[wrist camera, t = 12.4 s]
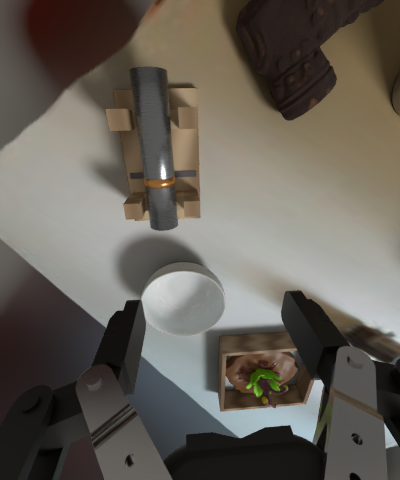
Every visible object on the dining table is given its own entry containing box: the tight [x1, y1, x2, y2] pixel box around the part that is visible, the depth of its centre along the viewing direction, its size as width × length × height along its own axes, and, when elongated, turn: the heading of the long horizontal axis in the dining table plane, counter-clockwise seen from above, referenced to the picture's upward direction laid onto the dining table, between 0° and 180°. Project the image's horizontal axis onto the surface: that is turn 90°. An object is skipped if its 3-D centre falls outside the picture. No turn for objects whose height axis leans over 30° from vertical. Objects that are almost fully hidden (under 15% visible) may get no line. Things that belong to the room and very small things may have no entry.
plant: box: [226, 352, 299, 408], centre depth 60 cm, size 20×20×11 cm
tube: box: [129, 67, 178, 231], centre depth 31 cm, size 20×4×4 cm, turn 1°
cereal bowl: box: [140, 262, 226, 336], centre depth 46 cm, size 17×17×7 cm
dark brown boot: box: [236, 0, 384, 120], centre depth 28 cm, size 10×15×15 cm
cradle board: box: [106, 88, 200, 221], centre depth 34 cm, size 12×20×8 cm, turn 1°
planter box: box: [218, 331, 314, 411], centre depth 61 cm, size 26×26×5 cm
